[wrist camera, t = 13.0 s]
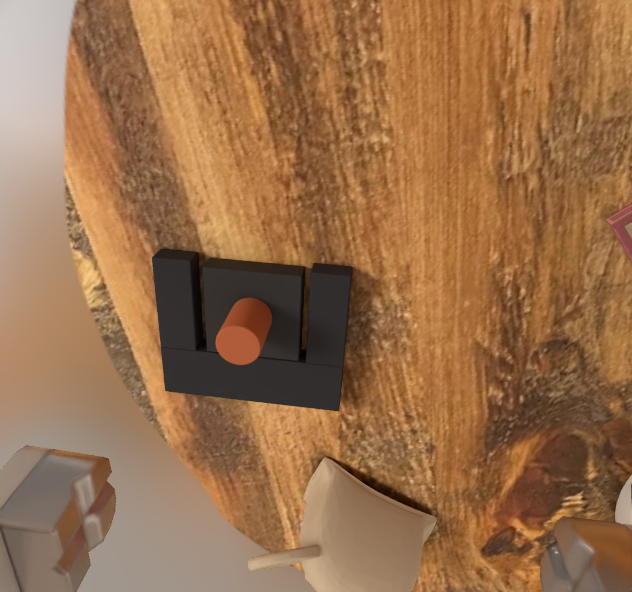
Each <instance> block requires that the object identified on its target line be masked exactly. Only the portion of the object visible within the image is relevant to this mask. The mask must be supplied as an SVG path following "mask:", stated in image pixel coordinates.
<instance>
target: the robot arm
mask: <svg viewBox="0 0 632 592" xmlns="http://www.w3.org/2000/svg"><path fill="white" fill-rule="evenodd" d="M111 472H112V471H111V466H110V462H109V459H108V458H105V457H99V456H93V455H87V454H80V453H74V452H68V451H61V450H55V449H46V448H40V447H33V446H25V447H23V448H21V449H20V450H18V451H17V452H16V453H15V454H14V455H13V456H12V458H11V459H10V460H9V461H8V462H7V463H6V465H5V466H4V467H3V468H2V469H1V470H0V592H76V591H77V589H78V588H79V586H80V584H81V582H82V580H83V578H84V576H85V575H86V573H87V571H88V569H89V567H90V559H89V553H88V552H89V551H91V550H92V549H94V548H95V547H96V546H98V545H99V544H101V543H102V542H103V541H104V539H105V536H106V534H107V533H108V531H109V529H110V526H111V523H112V520H113V516H114V513H115V505H116V504H115V503H116V496H115V489H114V488H113V487H112V486H111V485H110V484H109V483H108V482H107V479H108V477H109V476H110V474H111ZM553 531H554V534H555V537H556V540H557V541H555V542H553V543H552V544H550V545H548V546H546V548H545V551H544V553H543V556H542V559H541V571H540V577H541V584H542V590H543V592H632V525H629V524H620V523H616V522H608V521H599V520H591V519H582V518H574V517H565V516H563V517H562V518H560V519H559V520H558V521H557V523H556V525H555V527H554V529H553Z"/></svg>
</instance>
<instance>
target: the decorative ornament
mask: <svg viewBox="0 0 632 592" xmlns="http://www.w3.org/2000/svg"><path fill="white" fill-rule="evenodd" d="M303 500H304V502H305V503H306V507H305V511H304V516H303V520H302V522H301V523H300V526H301V532H300V547H299V548H296V549H290V550H285V551H279V552H274V553H269V554H265V555H261V556H257V557H254V558H251V559H250V560H249V562H248V567H249V569H250V570H252V571H257V570H263V569H269V568H276V567H281V566H287V565H292V564H296V563H301V562H302V567H303V569H304V571H305V578H306V580H307V581H308V582H310V583H311V585H312V586H313V587H314V589H315V590H316V592H411V591H412V589H413V587H414V585H415V582H416V580H417V577H418V574H419V570H420V565H421V559H422V549H423V544H424V542H425V541H426V540H427V539H428V537H429V536H430V534H431V532H432V530H433V528H434V526H435V524H436V521H437V518H436V517H434V516H431V515H428V514H426V513H423V512H420V511H418V510H415V509H413V508H411V507H408V506H406V505H404V504H401V503H399V502H397V501H395V500H393V499H391V498H389V497H387V496H385V495H383V494H381V493H379V492H377V491H375V490H374V489H372V488H370V487H368V486H367V485H365V484H364V483H362V482H361V481H360V480H358V479H357V478H355V477H354V476H352V475H351V474H350V473H348V472H347V471H346V470H344V469H343V468H342V467H340V466H339V465H338V464H336V463H335V462H334V461H332V460H330V459H328V458H326V457H324V459H323V460H322V461H321V463H320V464H319V466H318V468H317V469H316V471H315V472H314V474H313V475H312V477H311V479H310V481H309V482H308V485H307V488H306V491H305V493H304V496H303Z"/></svg>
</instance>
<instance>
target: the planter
mask: <svg viewBox="0 0 632 592" xmlns="http://www.w3.org/2000/svg"><path fill="white" fill-rule="evenodd" d="M615 521H616V523H620V524H629V525H632V475H631V476H630V477H629V479H628V480H627V482H626V483H625V485H624V487H623V488H622V490H621V493H620V496H619V498H618V501H617V505H616V511H615Z"/></svg>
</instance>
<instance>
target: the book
mask: <svg viewBox="0 0 632 592" xmlns="http://www.w3.org/2000/svg"><path fill="white" fill-rule="evenodd" d="M606 221H607V223H608V224H609V226H610V228H611V229H612V231H613V232H614V234H615V236H616V237H617V239H618V241H619V242H620V244H621V246H622V247H623V249H624V251H625V252H626V254H627V256H628V257H629V259H630V261H631V262H632V204H631V205H629V206H628V207H626V208H624V209H623V210H621V211H619V212H618V213H616V214H614V215H612V216H611V217H609V218H607V219H606Z"/></svg>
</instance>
